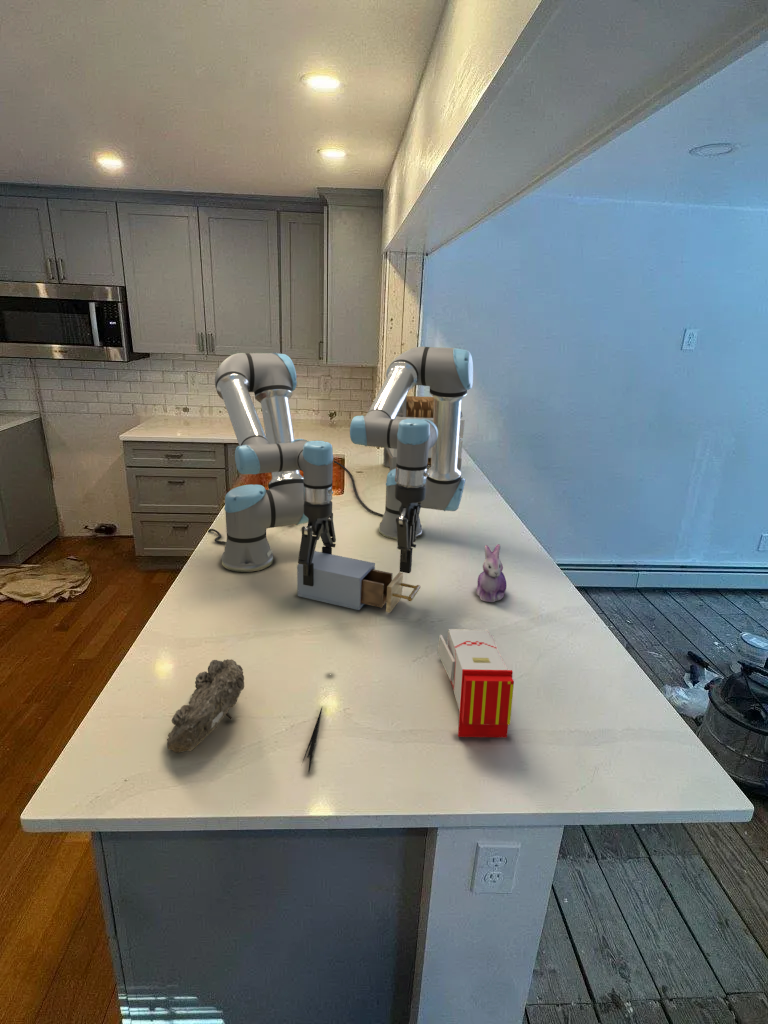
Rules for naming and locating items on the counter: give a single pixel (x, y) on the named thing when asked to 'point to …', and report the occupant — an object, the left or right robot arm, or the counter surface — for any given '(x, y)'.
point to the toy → (478, 682)
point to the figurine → (491, 577)
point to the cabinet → (335, 580)
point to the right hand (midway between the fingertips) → (405, 571)
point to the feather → (313, 740)
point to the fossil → (206, 705)
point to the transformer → (419, 410)
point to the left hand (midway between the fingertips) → (317, 576)
